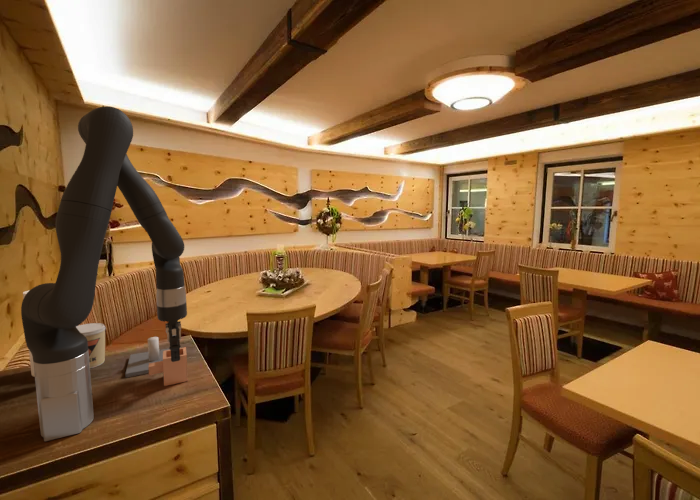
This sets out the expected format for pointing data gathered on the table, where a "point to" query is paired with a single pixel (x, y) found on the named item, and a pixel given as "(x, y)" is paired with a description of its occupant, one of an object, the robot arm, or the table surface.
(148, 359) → the base
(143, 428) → the table surface
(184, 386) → the table surface
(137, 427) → the table surface
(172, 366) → the orange hollow box
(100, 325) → the coffee cup
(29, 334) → the robot arm
